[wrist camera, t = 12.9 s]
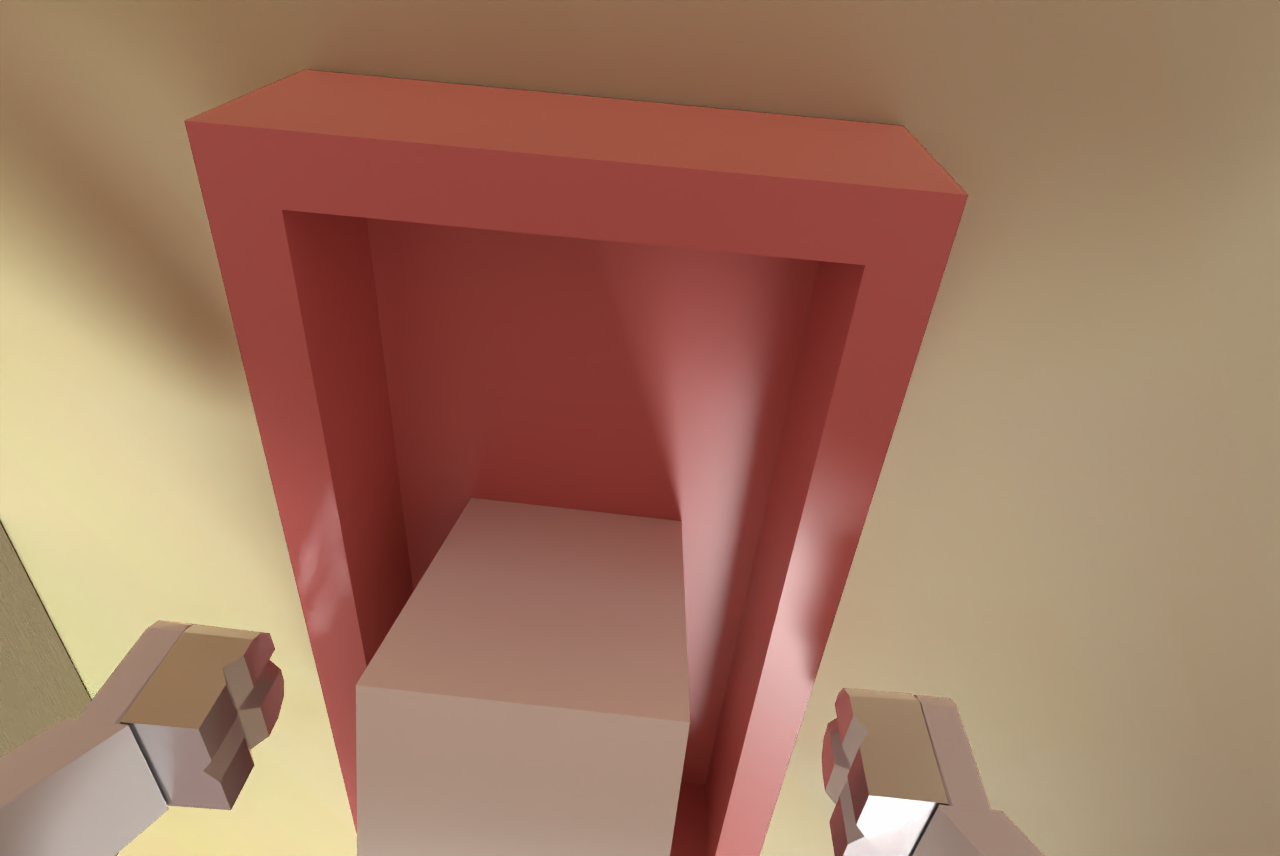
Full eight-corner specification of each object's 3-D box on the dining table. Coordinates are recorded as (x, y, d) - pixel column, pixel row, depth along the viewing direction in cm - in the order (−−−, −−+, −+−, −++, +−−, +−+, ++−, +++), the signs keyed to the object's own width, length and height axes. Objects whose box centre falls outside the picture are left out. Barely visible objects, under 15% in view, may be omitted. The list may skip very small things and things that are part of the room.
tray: (903, 125, 10) (968, 194, 7) (735, 783, 18) (741, 912, 16) (304, 70, 10) (184, 119, 8) (409, 750, 18) (367, 875, 16)
